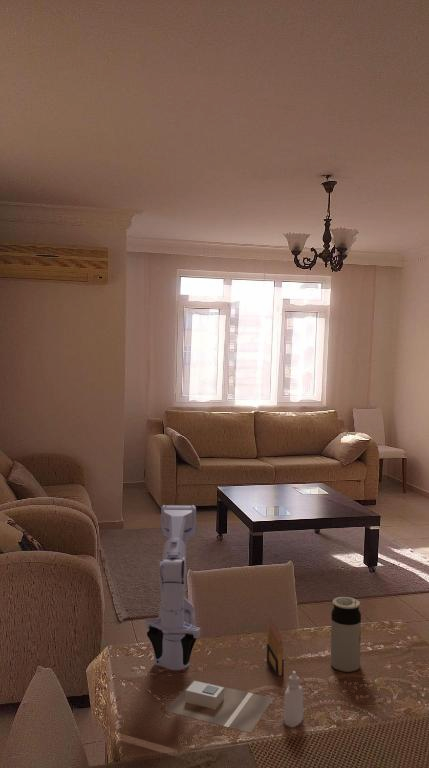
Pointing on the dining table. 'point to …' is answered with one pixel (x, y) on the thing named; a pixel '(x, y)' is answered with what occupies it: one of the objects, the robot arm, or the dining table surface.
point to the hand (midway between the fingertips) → (172, 660)
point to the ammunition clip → (275, 650)
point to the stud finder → (204, 695)
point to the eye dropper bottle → (293, 702)
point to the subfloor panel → (225, 709)
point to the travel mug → (345, 634)
